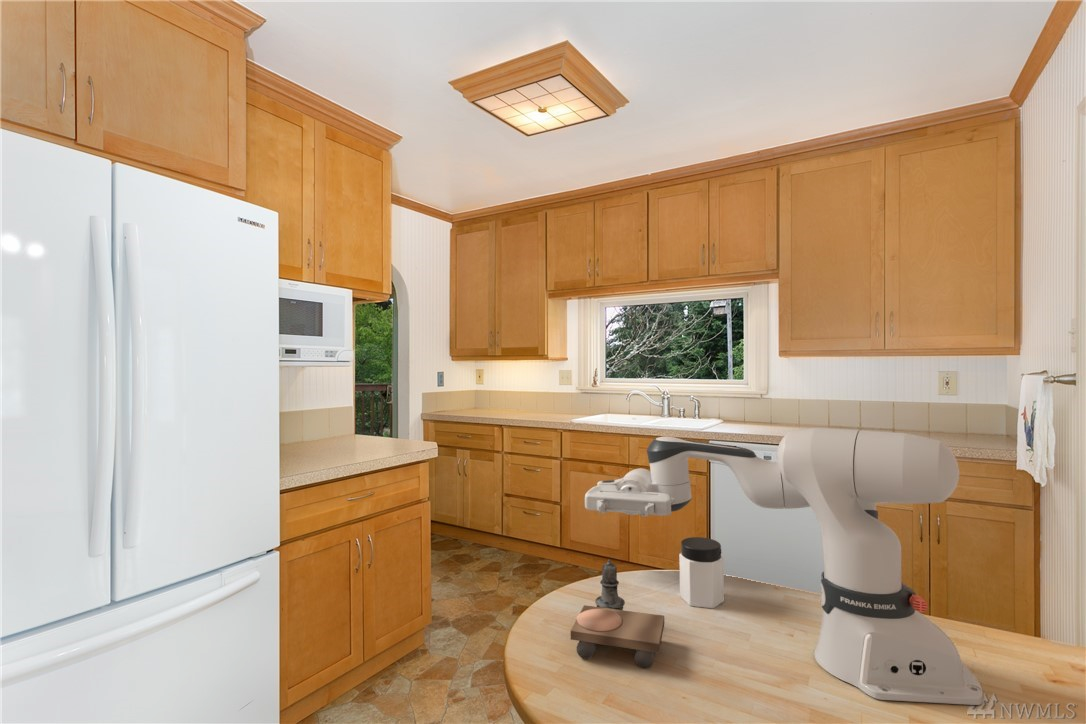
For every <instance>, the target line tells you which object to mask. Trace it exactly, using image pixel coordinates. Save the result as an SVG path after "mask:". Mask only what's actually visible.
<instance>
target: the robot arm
mask: <svg viewBox="0 0 1086 724" xmlns="http://www.w3.org/2000/svg"><path fill="white" fill-rule="evenodd" d="M646 455H647V460H648V464H649V470H648V469H646V468H643V467H642V468H641V467H639V468H635V469H633V470H630V471H628V472H627V473H626V474H625V475H624V476H623V477H622V478H618V479H614V480H613V479H611V480H608V479H607V480H600V481H598V482H597V483H596V485H595V486H593V487H591V488H589V490H588V491H587V492H585V495H584V508H585V509H586V510H587V511H598V514H606V513H607V512H608V513H609V512H610V513H611V512H612V513H622V514H623V513H624V514H626V515H629V516H636V515H640V517H646V518H647V517H649V516H662V517H664V516H665V517H666V516H670V515H671V514H672V513H673V512H677V511H680V510H682V509H684V508H685V507H686V506H688V504H689V503H690V502H691V500H692V499H693V497H692V487H691V480H690V479H691V478H690V472H689V459H690V458H691V459H698V460H706V461H713V462H719V463H721V464H722V463H723V464H724V465H725V466H727V467H729V469H730V470H731V471H732V473H733V474H734V476H735V478H736V480H737V482H738V483H739V486H740V488H741V489H742V491H743V493H744V494H745V496H746V497H747V498H748V499H749V500H750V501H751V502H752V503H754V504H755V505H756V506H758V507H760V508H765V509H774V510H776V509H778V510H784V509H785V510H788V509H791V510H792V509H802V508H803V509H805V508H811V510H812V511H813V513H814V514H815V517H816V519H817V522H818V524H819V528H820V533H821V540H822V541H821V542H822V550H823V551H822V553H823V571H822V572H821V578H820V603H821V604H820V605H821V607H822V616H821V623H820V625H821V626H820V630H819V636H818V639H817V642H816V646H815V650H814V652H813V653H814V654H813V655H814V659H815V660H816V662H817V664H818V665H819V666H820V667H821V668H822V669H824V671H826V672H827V673H829V674H830V675H832V676H834V677H835V678H837V679H840V680H841V681H843V682H846V683H848V684H850V685H853V686H855V687H856V688H858V689H859V690H861V691H862V692H863V693H864V694H867V696H870V697H871V698H874V699H875V700H880V701H881V700H882V701H900V702H901V701H902V702H915V703H916V702H917V703H933V704H934V703H935V704H953V705H966V706H967V705H971V706H979V705H982V703H983V702H984V694H983V688H982V685H981V684H980V682H979V681H978V679H977V677H976V676H975V674H973V672H972V671H971V670H970V669H969V668H968V667H967V666H966V665H965V664H963V663H962V660H961V656H960V654H959V651H958V649H957V647H956V645H955V644H954V641H953V640H952V639H951V638H950V636H949V635H948V634H947V633H946V632H945V631H944V630H942V629H941V628H940V627H939V626H937V625H936V624H935V623H934V622H933V621H931V620H930V619H929V618H927V617H926V616H925V615H924V614H923V613H925V612H926V611H927V610H928V608H929V606H928V602H927V601H926V600H925V599H924V598H923V597H922V596H920V595H918V594H916V592H915V591H914V590H913V589H912V588H911V587H909V586H908V584H905V582H903V581H902V578H903V577H902V545H901V542H900V539H899V537H898V535H897V534H896V533H895V531H894V530H892V529H891V527H889V526H888V525H887V524H885V523H884V522H883V521H882V520H881V521H880V520H879V510H877V504H881V505H883V504H886V505H887V504H914V505H915V504H940V503H943V502H944V501H946V500H947V499H948V498H949V497H950V496H951V495H952V494H953V493H954V492H955V491H956V488H957V487H958V483H959V480H960V467H959V462H958V460H957V458H956V456H955V454H954V453H953V451H952V450H951V449H950V447H948V445H947V444H945V443H944V442H943V440H942V441H941V440H939V439H934V438H929V437H927V436H926V437H925V436H920V435H917V434H912V433H906V432H893V431H879V430H877V431H875V430H866V429H865V430H860V429H851V428H850V429H849V428H848V429H847V428H846V429H845V428H832V427H809V428H808V427H807V428H801V429H800V428H799V429H795V430H794V429H793V430H789V431H788V432H787V433H786V434H785V435H784V436H783V437H782V439H781V440H780V442H779V443H778V446H777V449H776V461H770V460H766V459H764V458H761V457H758V456H757V455H756V452H754V451H753V450H752V449H749V448H747V447H740V446H735V445H729V444H721V443H712V442H705V441H704V442H703V441H699V440H698V441H697V440H695V441H694V440H689V439H688V440H687V439H684V438H683V439H682V438H678V437H674V436H666V435H665V436H660V437H655V438H654V439H653V440H652V441H651V442H650V444H649V445H648V446H647V448H646Z"/></svg>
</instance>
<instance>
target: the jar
mask: <svg viewBox="0 0 1086 724" xmlns="http://www.w3.org/2000/svg"><path fill="white" fill-rule="evenodd" d="M680 547H681V551H680V553H679V556H678V557H679V560H678V561H679V562H678V563H679V566H678V567H679V596H680V598H681V599H682V600H683V601H684V602H686V604H688V605H689V606H691V607H697V608H707V609H714V608H716V607H717V606H719V605H720V604H722V603H724V602H725V598H724V597H725V596H724V595H725V593H724V590H725V589H724V588H725V585H724V584H725V583H724V582H725V581H724V577H725V576H724V575H725V574H724V557H723V556H722V545H721V543H720V542H719V541H717V540H715V539H712V538H709V537H701V536H700V537H699V536H698V537H697V536H694V537H687V538H686V537H685V538H684V539H682V540H681V543H680Z"/></svg>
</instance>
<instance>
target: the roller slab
mask: <svg viewBox="0 0 1086 724" xmlns="http://www.w3.org/2000/svg"><path fill="white" fill-rule="evenodd" d="M572 625H573V626H572V628H571V629H570V640H571V641H572V640H573V641H578V643H577V646H576V648H575V649H576V654H577V655H578V656H579V657H580V658H581V659H583V660H589V659H591V658H592V657H593V655H594V654H595V651H596V648H597V647H598V644H599V645H604V646H611V647H618V648H625V649H632V650H636V651H635V653H634V654H635V655H634V661H635V664H636V665H637V666H638V667H639V668H640V669H645V670H646V669H649V668H651V667H652V665H653V663H654V659H655V653H658V654H659V653H660V648H661V644H662V639H663V634H664V633H663V632H664V629H665V615H662V614H654V613H646V612H638V611H631V610H624V609H623V610H617V609H609V608H601V607H597V606H592V605H585V604H584V605H583V606H582V608H581V610H580V612H579V614H578V615H577V617H576V620H575V621H574V623H573V624H572Z"/></svg>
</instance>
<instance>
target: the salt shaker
mask: <svg viewBox="0 0 1086 724" xmlns="http://www.w3.org/2000/svg"><path fill="white" fill-rule="evenodd" d="M611 561H612V560H611V559H610V558H608V560H607V562H605V563H604V564H603V565H602V567H601V578H602V579H600V584H601V595H600V596H598V597H596V599H595V600H594V603H595V605H596V607H601V608H609V609H617V610H624V606H625V604H626V603H625V600H624V599H623V598H622V597H621V596H619V594H618V585H620V584H619V583H620V581H618V572H617V571H618V570H617V566H616V564H615V563H612V562H611Z"/></svg>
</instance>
